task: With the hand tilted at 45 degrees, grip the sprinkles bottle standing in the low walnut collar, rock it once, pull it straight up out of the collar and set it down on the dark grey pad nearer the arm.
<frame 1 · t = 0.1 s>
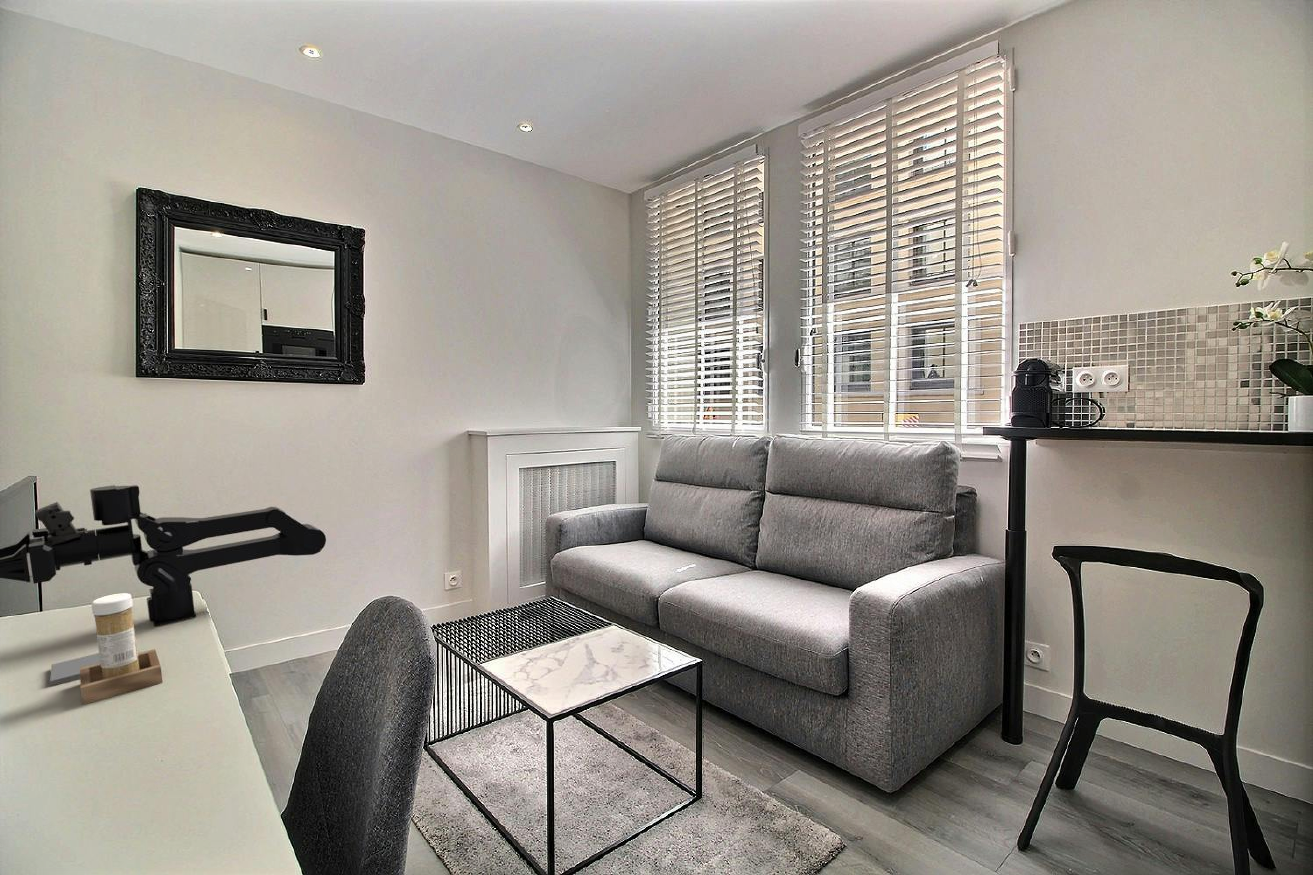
sprinkles bottle: (122, 684, 96), resting in collar
collar: (122, 682, 96), on the table
pad: (94, 666, 102), on the table
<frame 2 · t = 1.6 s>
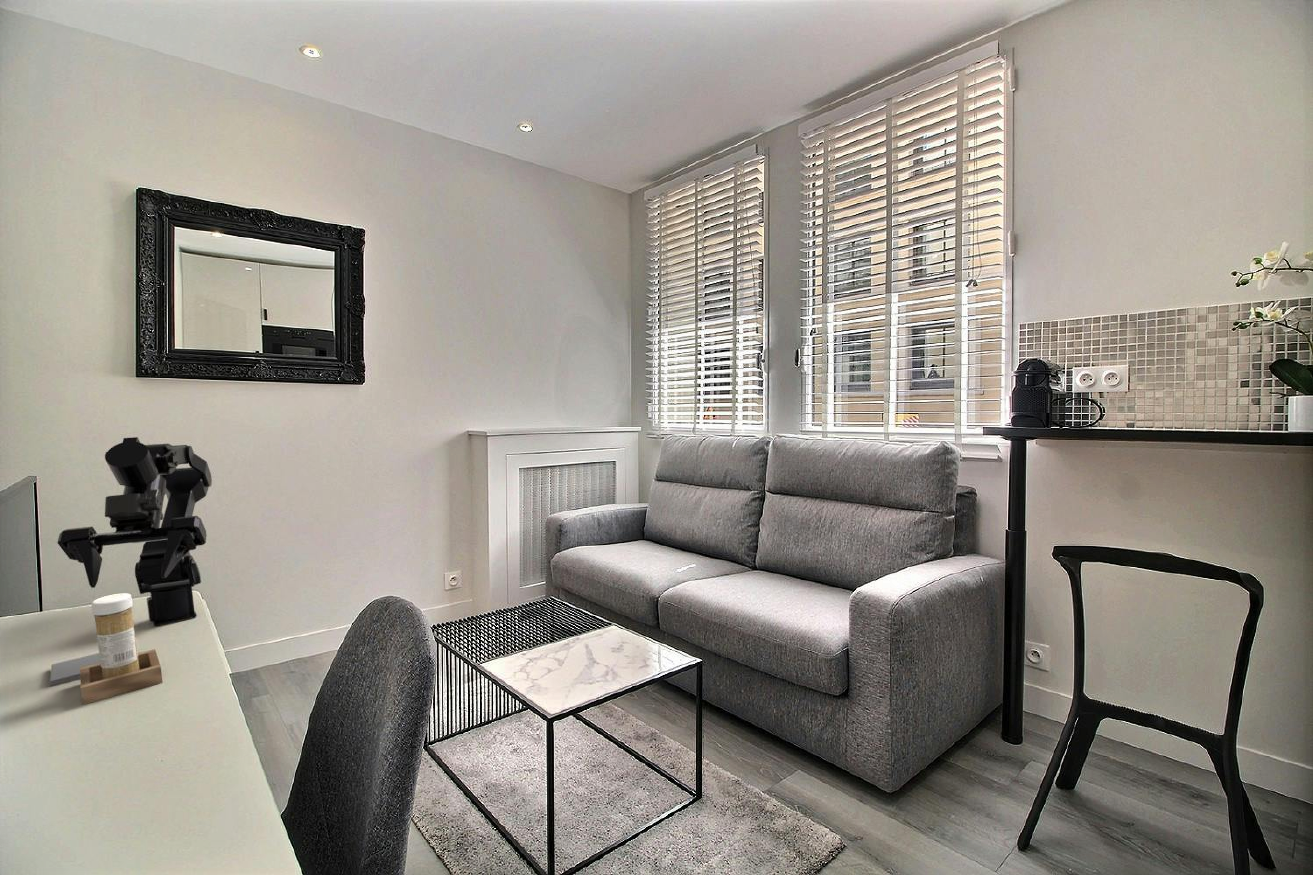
hand: (128, 581, 102), 14 cm above the table, tool tilted 45°, fingers open, 9 cm apart
nothing on the table moved.
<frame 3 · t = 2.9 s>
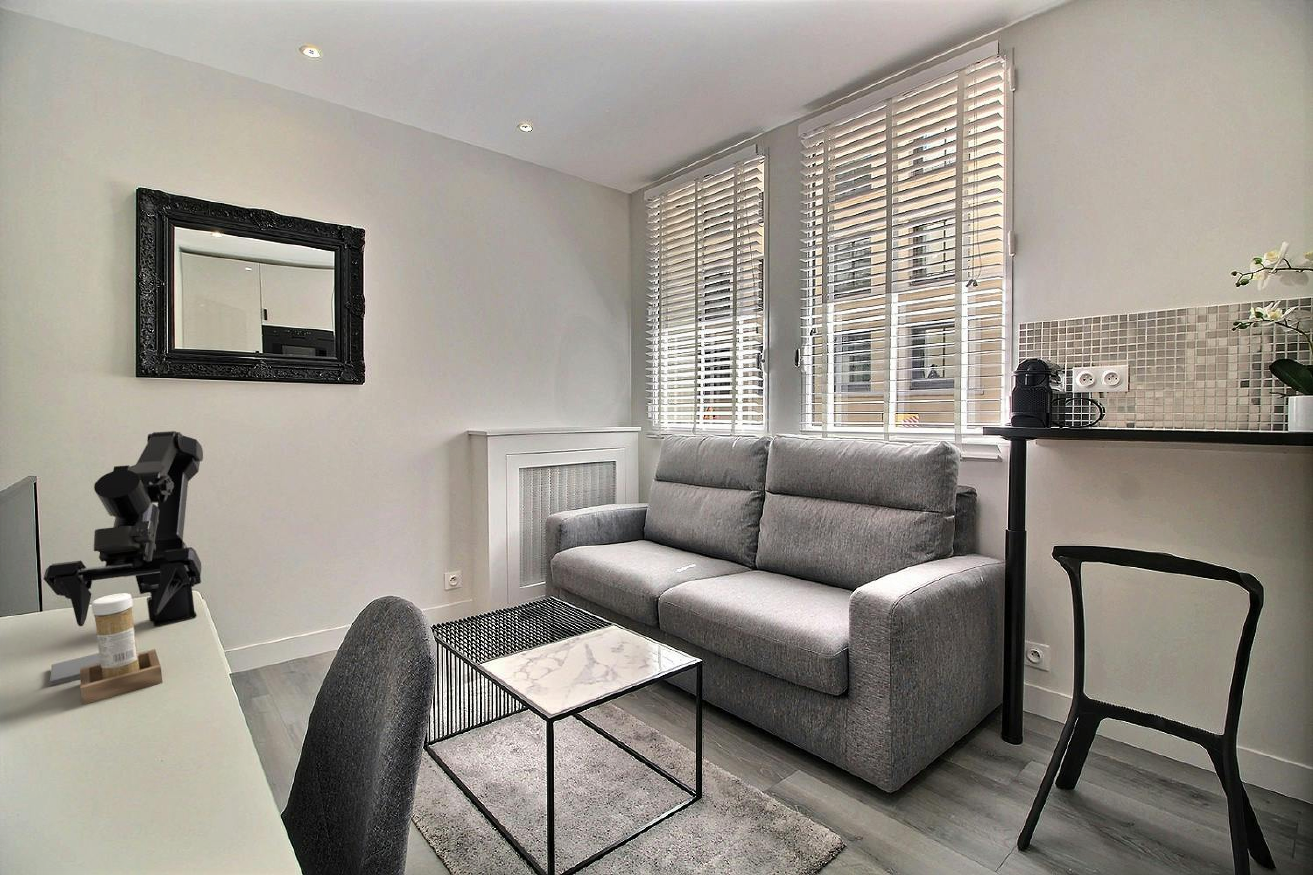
hand: (118, 619, 97), 9 cm above the table, tool tilted 45°, fingers open, 9 cm apart
nothing on the table moved.
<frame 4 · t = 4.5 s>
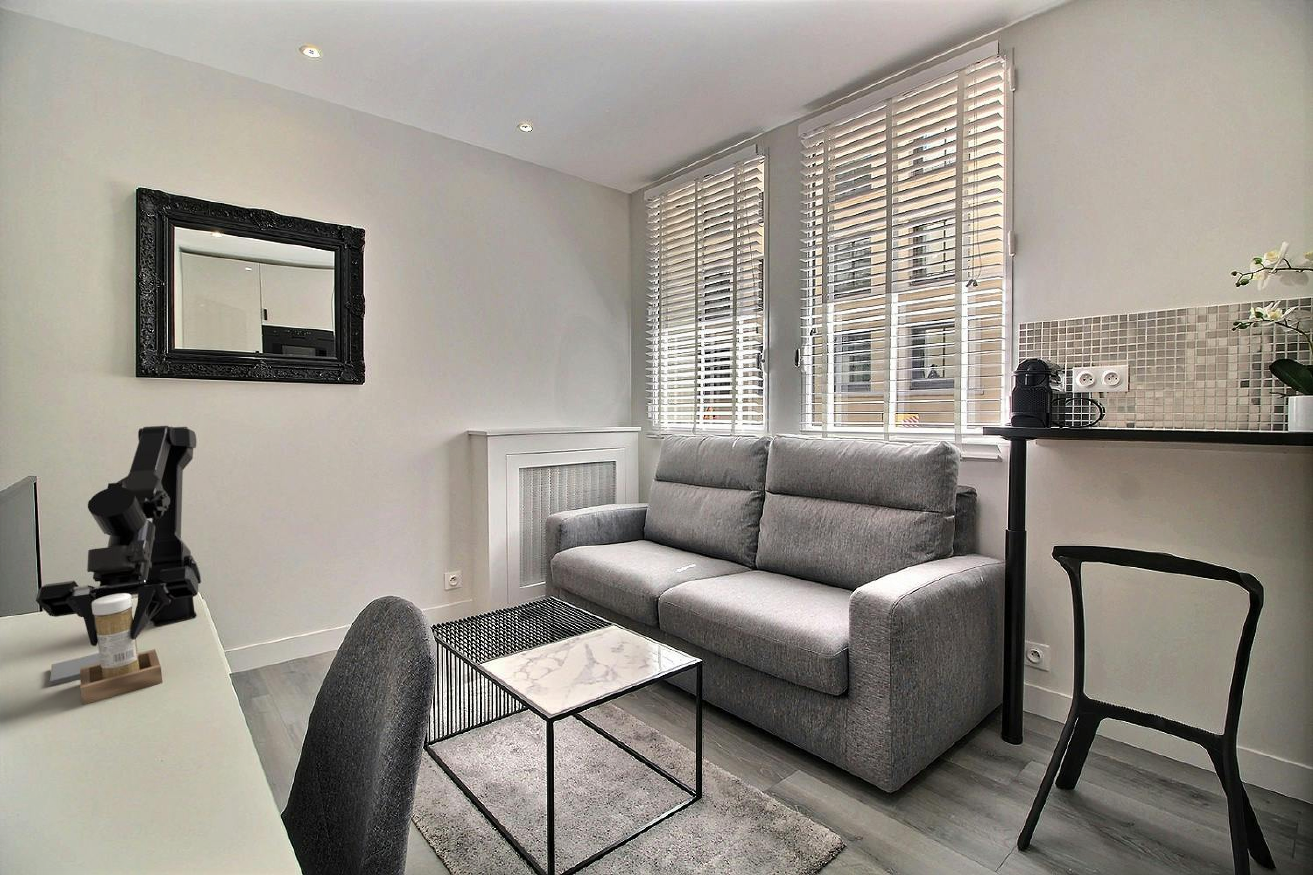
hand: (113, 641, 94), 7 cm above the table, tool tilted 45°, fingers closed on sprinkles bottle, 4 cm apart
sprinkles bottle: (122, 684, 96), resting in collar, touching gripper
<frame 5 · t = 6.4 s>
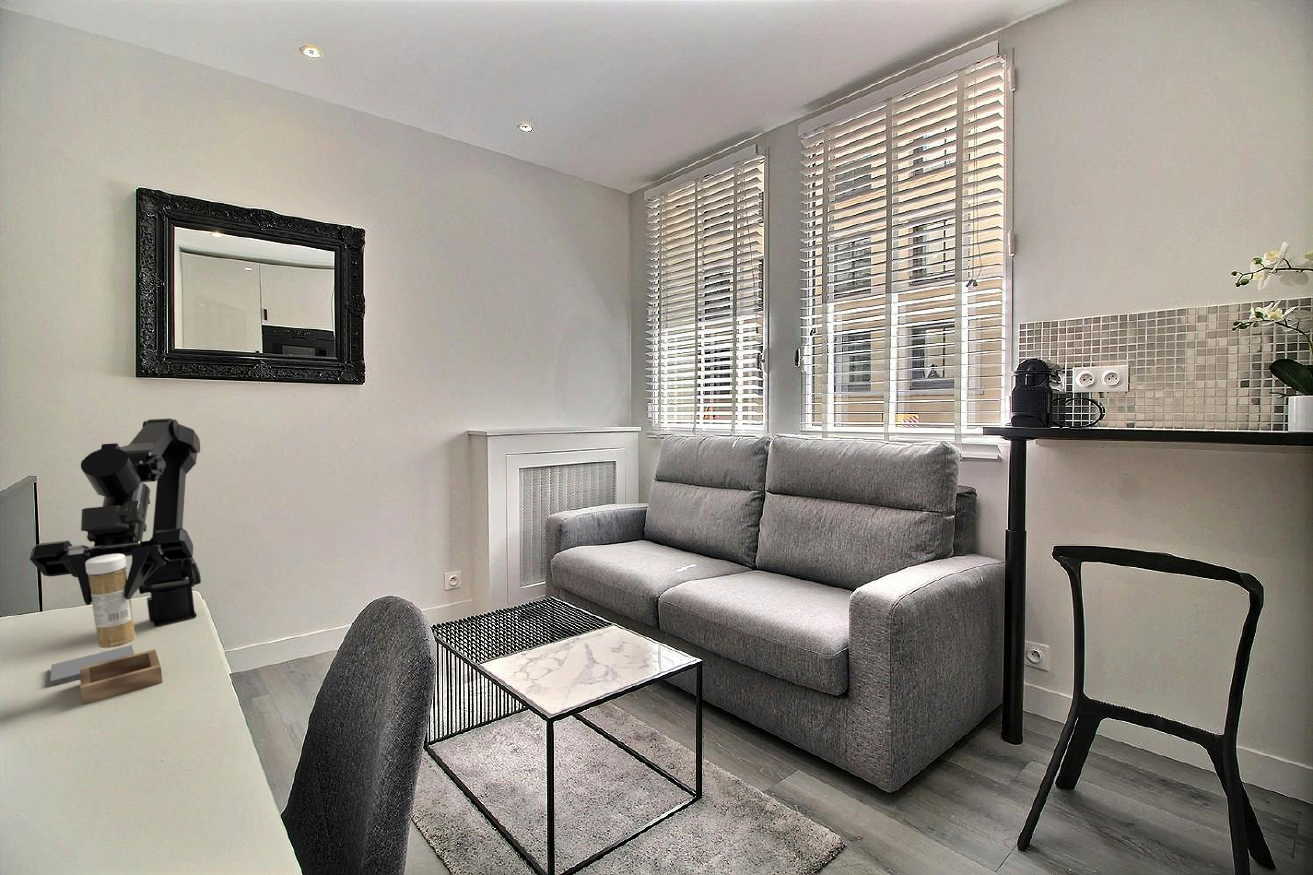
hand: (107, 600, 94), 13 cm above the table, tool tilted 45°, fingers closed on sprinkles bottle, 4 cm apart
sprinkles bottle: (117, 643, 96), point 6 cm above the table, touching gripper
when the fingers open (8 cm above the table, at t = 8.3 s): sprinkles bottle stays where it is, resting on pad.
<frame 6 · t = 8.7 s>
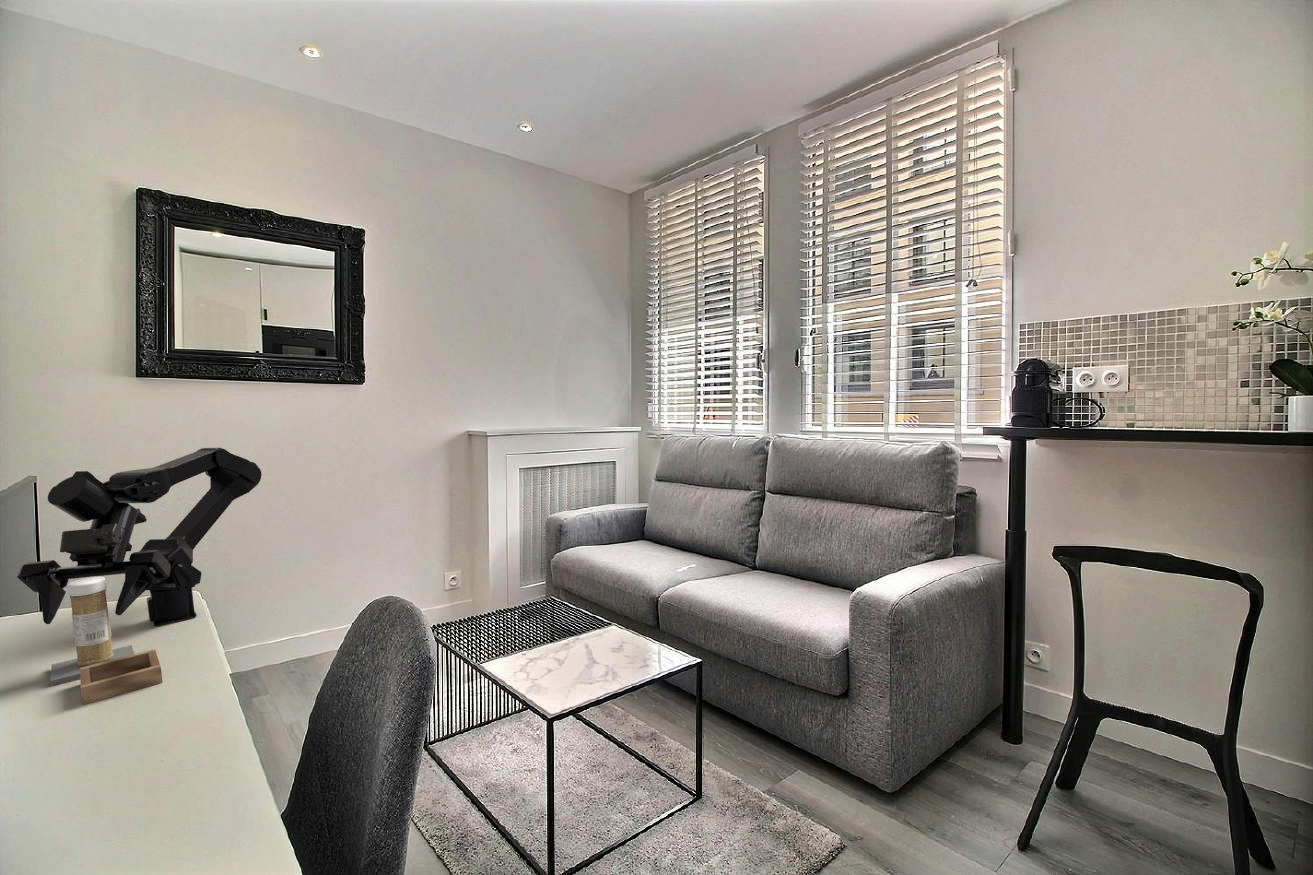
hand: (82, 618, 100), 9 cm above the table, tool tilted 45°, fingers open, 9 cm apart
sprinkles bottle: (95, 661, 102), point 1 cm above the table, touching pad
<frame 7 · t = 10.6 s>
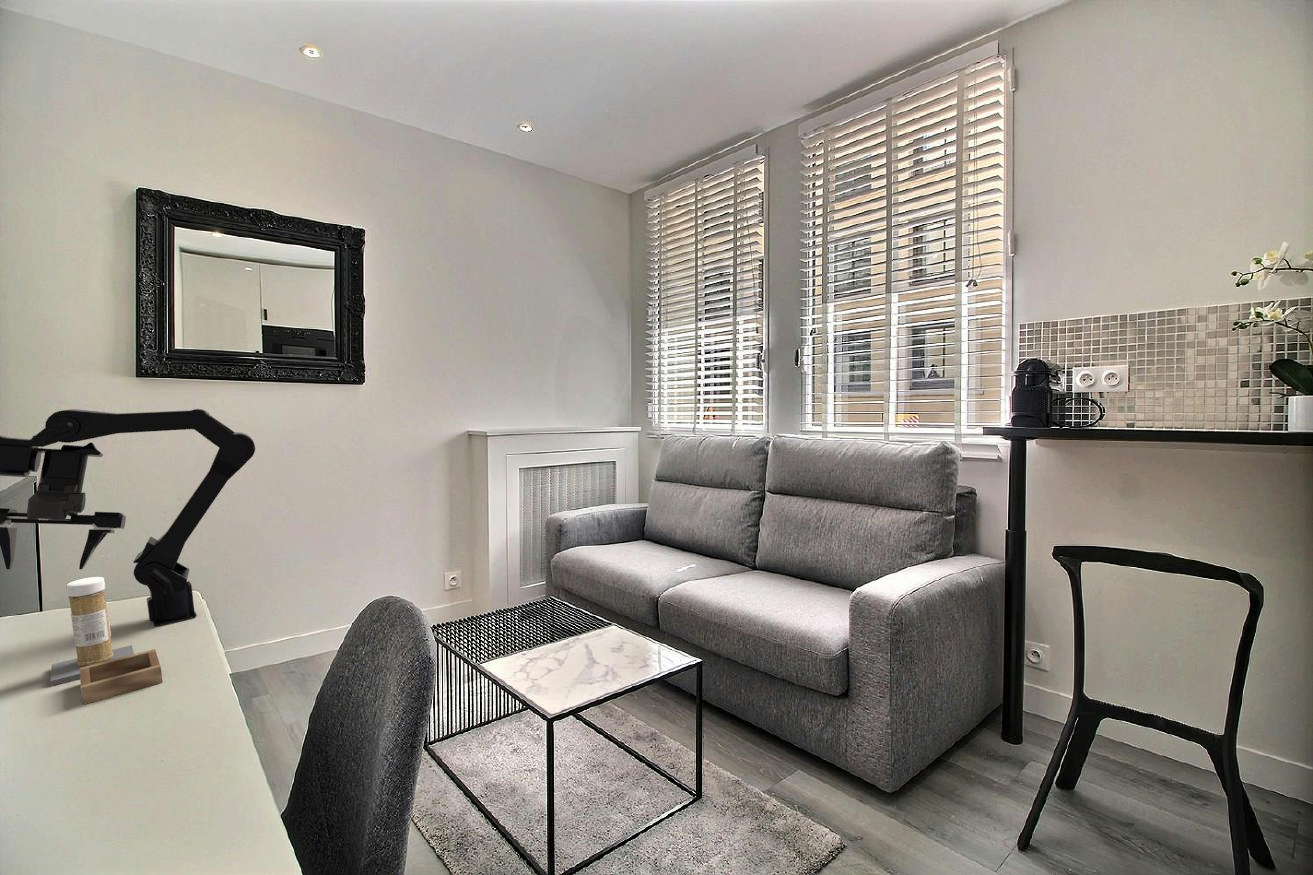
hand: (45, 569, 109), 14 cm above the table, tool tilted 15°, fingers open, 9 cm apart
nothing on the table moved.
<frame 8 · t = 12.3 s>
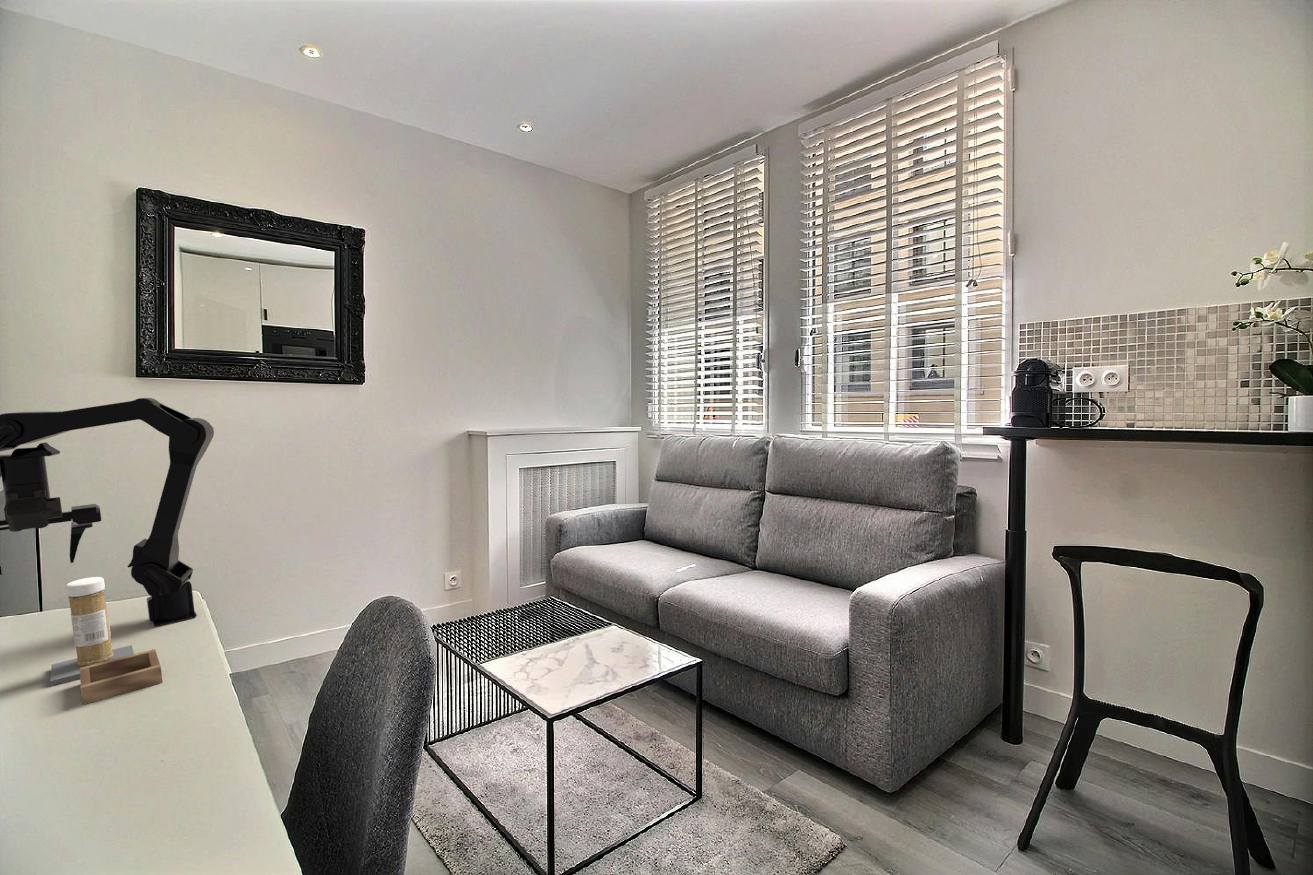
hand: (37, 568, 114), 13 cm above the table, tool pointing down, fingers open, 9 cm apart
nothing on the table moved.
at the end: sprinkles bottle 0.3 cm from the pad (horizontally); sprinkles bottle tilted 0°; the gripper is holding nothing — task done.
